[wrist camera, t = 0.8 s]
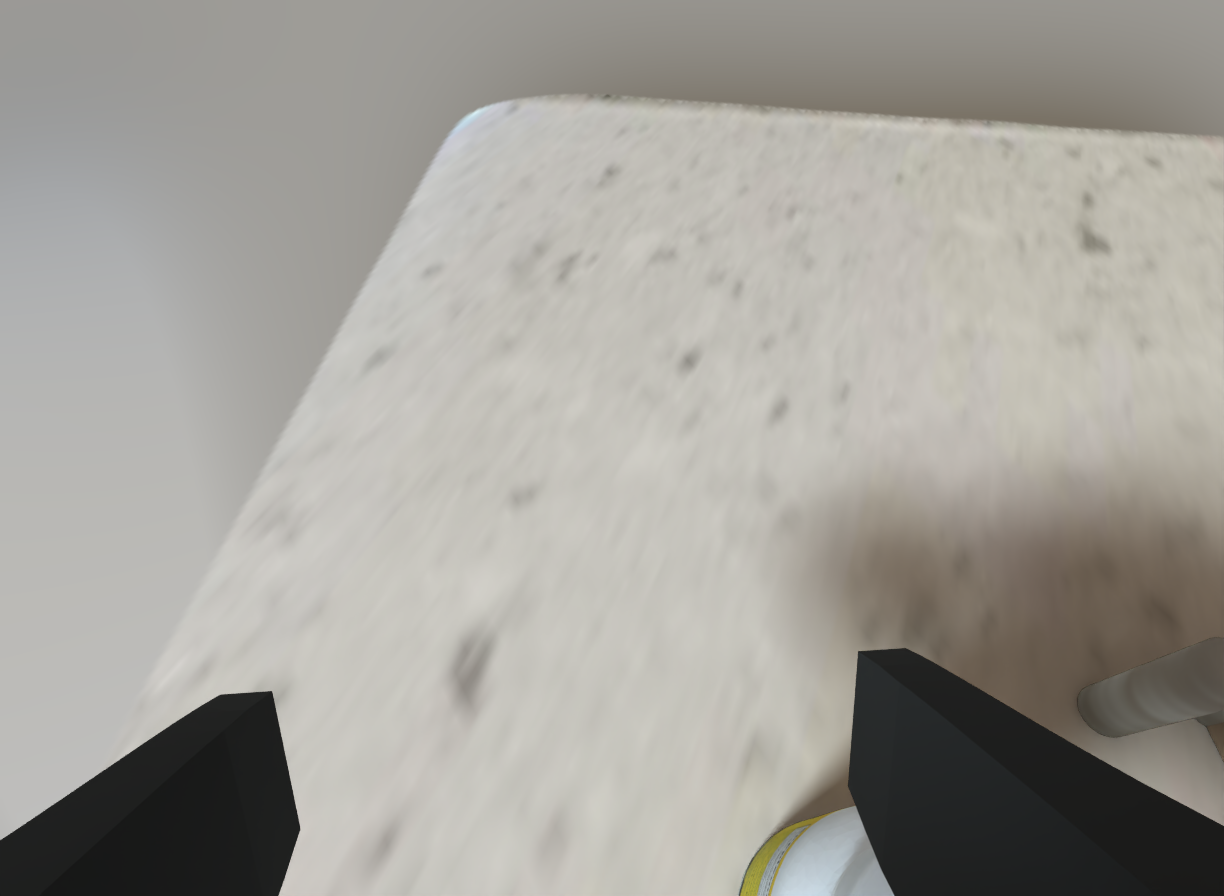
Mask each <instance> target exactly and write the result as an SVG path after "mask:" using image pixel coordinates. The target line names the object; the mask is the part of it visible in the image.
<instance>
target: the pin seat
mask: <svg viewBox="0 0 1224 896" xmlns="http://www.w3.org/2000/svg"><path fill="white" fill-rule="evenodd" d="M1078 708H1079V711H1080V714H1081V716H1082V717H1083V719H1084V720H1085V722H1086V723H1087V724H1088V725H1089V726H1090V727H1091V728H1092V729H1093V730H1095V731H1096V732H1098V733H1100V734H1102V735H1104V736H1108V737H1121V736H1125V735H1129V734H1133V733H1137V732H1141V731H1145V730H1149V729H1153V728H1157V727H1161V726H1164V725H1168V724H1172V723H1176V722H1180V721H1184V720H1188V719H1192V718H1196V719H1197V720H1198V721H1199V722H1200V723H1202V724H1203V725H1205V726H1206V727H1207V729H1208V731H1209V733H1210V735H1211V737H1212V739H1213V741H1214V743H1215V745H1216V747H1217V749H1218V751H1219V753H1220V755H1221V757H1222V760H1223V762H1224V638H1221V637H1216V638H1210V639H1207V640H1205V641H1202V642H1200V643H1197V644H1195V645H1192V646H1189V647H1187V648H1184V649H1182V650H1179V651H1177V652H1174V653H1172V654H1169V655H1166V656H1164V657H1161V658H1159V659H1156V660H1154V661H1151V662H1148V663H1146V664H1143V665H1141V666H1138V667H1136V668H1133V669H1131V670H1128V671H1125V672H1123V673H1120V674H1118V675H1115V676H1113V677H1110V678H1108V679H1105V680H1102V681H1100V682H1097V683H1095V684H1092V685H1090V686H1087V687H1085V688H1084V689H1083V690H1082V691H1081V692H1080V694H1079V696H1078Z"/></svg>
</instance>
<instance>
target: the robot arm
mask: <svg viewBox="0 0 1224 896" xmlns="http://www.w3.org/2000/svg"><path fill="white" fill-rule="evenodd" d="M848 787H849V790H850V792H851V795H852V798H853V800H854V803H855V805H856V808H857V811H858V813H859V816H860V818H861V821H862V824H863V826H864V829H865V832H866V834H867V836H868V839H869V841H870V844H871V846H872V849H873V851H874V853H875V856H876V858H877V861H878V863H879V866H880V868H881V870H882V872H883V874H884V876H885V878H886V880H887V882H888V884H889V886H890V888H891V890H892V892H893V894H894V896H1224V826H1223V825H1221V824H1219V823H1217V822H1215V821H1213V820H1211V819H1209V818H1207V817H1206V816H1204V815H1202V814H1200V813H1198V812H1196V811H1194V810H1192V809H1191V808H1189V807H1187V806H1185V805H1183V804H1181V803H1179V802H1177V801H1175V800H1174V799H1172V798H1170V797H1168V796H1166V795H1164V794H1162V793H1160V792H1158V791H1157V790H1155V789H1153V788H1151V787H1149V786H1147V785H1145V784H1143V783H1142V782H1140V781H1138V780H1136V779H1134V778H1133V777H1131V776H1129V775H1127V774H1125V773H1124V772H1122V771H1120V770H1118V769H1116V768H1115V767H1113V766H1111V765H1109V764H1107V763H1105V762H1104V761H1102V760H1100V759H1098V758H1097V757H1095V756H1093V755H1091V754H1090V753H1088V752H1086V751H1084V750H1083V749H1081V748H1079V747H1077V746H1076V745H1074V744H1072V743H1070V742H1069V741H1067V740H1065V739H1063V738H1062V737H1060V736H1058V735H1056V734H1055V733H1053V732H1051V731H1050V730H1048V729H1046V728H1044V727H1043V726H1041V725H1039V724H1038V723H1036V722H1034V721H1032V720H1031V719H1029V718H1027V717H1026V716H1024V715H1022V714H1021V713H1019V712H1017V711H1015V710H1014V709H1012V708H1010V707H1009V706H1007V705H1005V704H1004V703H1002V702H1000V701H999V700H997V699H995V698H993V697H992V696H990V695H988V694H987V693H985V692H983V691H982V690H980V689H978V688H977V687H975V686H973V685H971V684H970V683H968V682H966V681H965V680H963V679H961V678H960V677H958V676H956V675H954V674H953V673H951V672H949V671H947V670H946V669H944V668H942V667H940V666H939V665H937V664H935V663H933V662H932V661H930V660H928V659H926V658H924V657H922V656H920V655H918V654H916V653H914V652H912V651H910V650H908V649H906V648H901V649H887V650H872V651H858V661H857V674H856V688H855V701H854V714H853V727H852V740H851V753H850V767H849V780H848ZM299 831H300V824H299V819H298V815H297V810H296V805H295V800H294V795H293V790H292V785H291V781H290V776H289V771H288V766H287V761H286V756H285V751H284V746H283V742H282V737H281V732H280V727H279V722H278V717H277V712H276V708H275V703H274V698H273V693H272V691H268V692H253V693H238V694H224V695H219V696H217V697H216V698H214V699H212V700H210V701H209V702H207V703H205V704H204V705H202V706H200V707H199V708H197V709H195V710H194V711H192V712H191V713H189V714H187V715H186V716H184V717H183V718H181V719H180V720H178V721H177V722H175V723H174V724H172V725H171V726H169V727H168V728H166V729H165V730H163V731H162V732H160V733H159V734H157V735H156V736H154V737H153V738H151V739H150V740H148V741H147V742H145V743H144V744H142V745H141V746H139V747H138V748H136V749H135V750H133V751H132V752H130V753H129V754H128V755H126V756H125V757H123V758H122V759H120V760H119V761H117V762H116V763H114V764H113V765H111V766H110V767H108V768H107V769H106V770H104V771H103V772H101V773H100V774H98V775H97V776H95V777H94V778H92V779H91V780H89V781H88V782H86V783H85V784H83V785H82V786H80V787H79V788H77V789H76V790H75V791H73V792H72V793H70V794H69V795H67V796H66V797H64V798H63V799H62V800H60V801H58V802H57V803H55V804H54V805H52V806H51V807H49V808H48V809H46V810H45V811H43V812H42V813H41V814H39V815H38V816H36V817H35V818H33V819H32V820H30V821H29V822H27V823H26V824H24V825H23V826H21V827H20V828H18V829H17V830H15V831H14V832H13V833H11V834H9V835H8V836H6V837H5V838H3V839H2V840H0V896H278V895H279V892H280V890H281V887H282V884H283V881H284V878H285V875H286V872H287V869H288V866H289V863H290V859H291V856H292V853H293V850H294V847H295V844H296V841H297V838H298V835H299Z"/></svg>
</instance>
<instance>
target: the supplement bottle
mask: <svg viewBox="0 0 1224 896" xmlns="http://www.w3.org/2000/svg"><path fill="white" fill-rule="evenodd" d="M738 896H894V894H893V892H892V890H891V888H890V886H889V884H888V882H887V880H886V878H885V876H884V874H883V872H882V870H881V868H880V866H879V863H878V861H877V858H876V856H875V853H874V851H873V849H872V846H871V844H870V841H869V839H868V836H867V834H866V832H865V829H864V826H863V824H862V821H861V818H860V816H859V813H858V811H857V808H856V806H852V807H848V808H844V809H840V810H837V811H834V812H831V813H828V814H825V815H821V816H818V817H814V818H812V819H808V820H805V821H801V822H798V823H796V824H793V825H791V826H789V827H787V828H785V829H783V830H781V831H779V832H778V833H776V834H775V835H773V836H772V837H771V838H770V839H768V840H767V841H766V842H765V843H764V844H763V845H762V846H761V848H760V849H759V850H758V851H757V852H756V854H755V855H754V857H753V858H752V860H751V861H750V863H749V865H748V867H747V869H746V871H745V874H744V876H743V879H742V882H741V886H740V889H739V893H738Z"/></svg>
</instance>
